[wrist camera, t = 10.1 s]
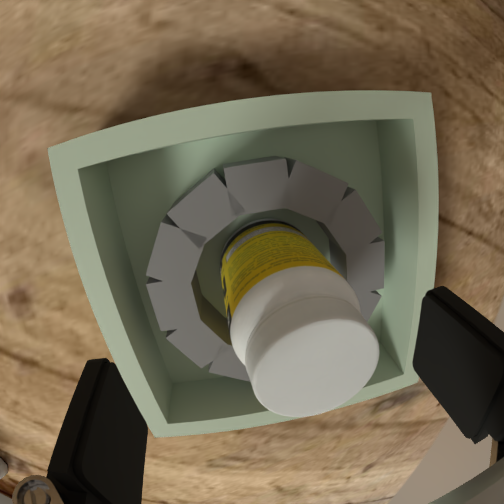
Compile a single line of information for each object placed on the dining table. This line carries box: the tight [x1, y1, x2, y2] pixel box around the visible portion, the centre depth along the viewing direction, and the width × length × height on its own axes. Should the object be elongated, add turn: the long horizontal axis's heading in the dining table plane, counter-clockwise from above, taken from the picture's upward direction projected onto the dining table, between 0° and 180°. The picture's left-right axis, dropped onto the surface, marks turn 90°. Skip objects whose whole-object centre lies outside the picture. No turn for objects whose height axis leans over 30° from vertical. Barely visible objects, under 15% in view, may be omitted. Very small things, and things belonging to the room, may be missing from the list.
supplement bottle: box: [220, 218, 379, 417], centre depth 13 cm, size 5×5×8 cm
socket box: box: [48, 90, 439, 437], centre depth 15 cm, size 16×16×4 cm
